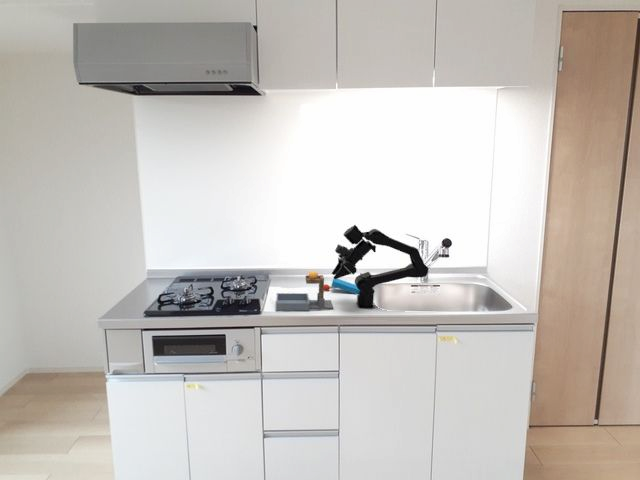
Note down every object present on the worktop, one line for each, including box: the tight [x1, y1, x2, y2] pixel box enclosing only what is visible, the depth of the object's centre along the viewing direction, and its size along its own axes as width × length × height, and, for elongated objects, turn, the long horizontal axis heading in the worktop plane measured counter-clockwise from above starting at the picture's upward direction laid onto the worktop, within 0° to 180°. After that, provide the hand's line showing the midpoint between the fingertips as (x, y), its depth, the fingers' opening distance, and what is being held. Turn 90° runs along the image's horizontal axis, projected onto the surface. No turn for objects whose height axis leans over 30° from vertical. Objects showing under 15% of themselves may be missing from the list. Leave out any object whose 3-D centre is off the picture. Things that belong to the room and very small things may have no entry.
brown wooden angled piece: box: [305, 274, 325, 299], centre depth 203 cm, size 8×7×11 cm
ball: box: [308, 270, 319, 279], centre depth 202 cm, size 4×4×4 cm
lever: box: [324, 278, 360, 295], centre depth 227 cm, size 7×7×18 cm
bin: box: [275, 292, 310, 312], centre depth 203 cm, size 14×14×4 cm
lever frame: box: [309, 292, 334, 311], centre depth 204 cm, size 10×10×4 cm
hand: (333, 276), depth 202 cm, fingers open, 7 cm apart
